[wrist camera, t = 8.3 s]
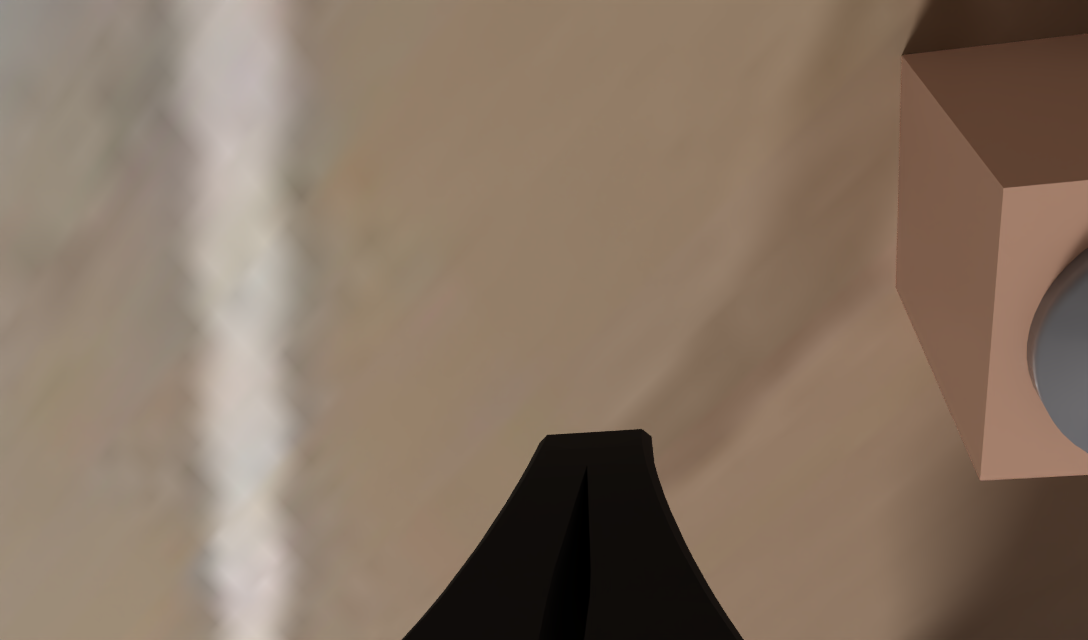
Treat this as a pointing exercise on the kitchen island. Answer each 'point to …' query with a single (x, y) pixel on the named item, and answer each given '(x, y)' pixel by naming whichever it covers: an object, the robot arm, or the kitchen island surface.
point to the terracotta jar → (1000, 246)
